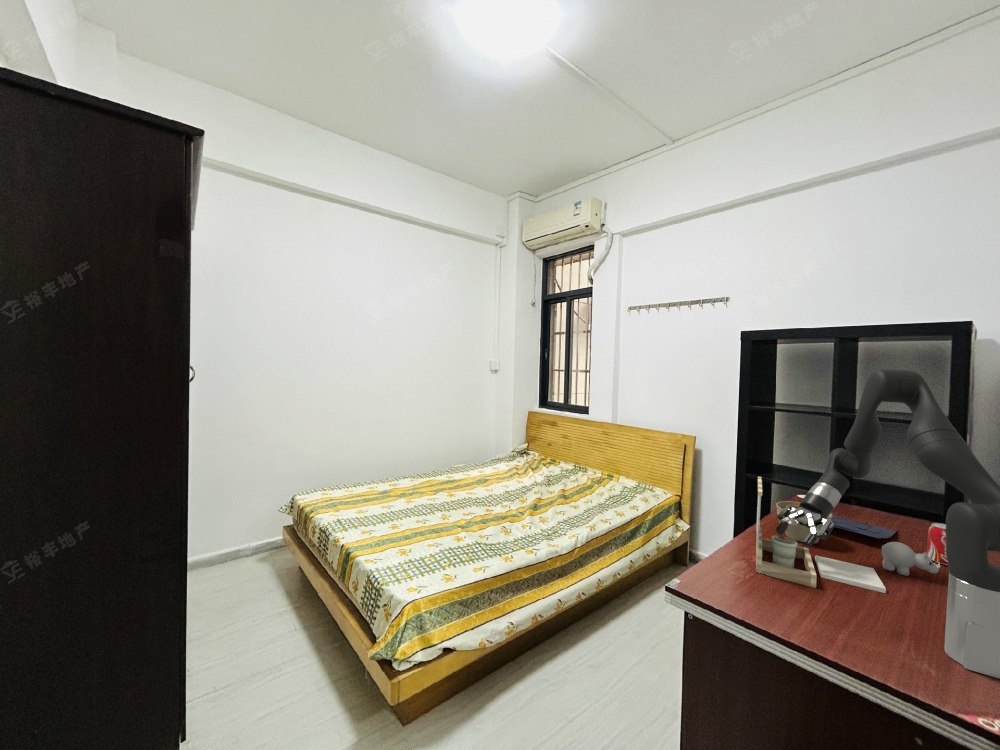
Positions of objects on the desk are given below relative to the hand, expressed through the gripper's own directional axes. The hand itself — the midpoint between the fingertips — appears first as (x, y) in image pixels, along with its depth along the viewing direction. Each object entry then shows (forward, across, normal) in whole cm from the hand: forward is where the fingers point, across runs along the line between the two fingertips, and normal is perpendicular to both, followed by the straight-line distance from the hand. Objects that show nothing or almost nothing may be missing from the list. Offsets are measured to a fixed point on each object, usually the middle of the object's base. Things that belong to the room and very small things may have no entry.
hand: (791, 538), depth 124 cm
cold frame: (+8, 0, +4) cm, 9 cm away
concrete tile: (-2, +9, +14) cm, 16 cm away
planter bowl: (-11, -14, +23) cm, 29 cm away
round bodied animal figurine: (-16, +13, +28) cm, 34 cm away
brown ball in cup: (+8, 0, +4) cm, 9 cm away
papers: (-31, -17, +43) cm, 55 cm away
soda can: (-31, +10, +43) cm, 54 cm away
